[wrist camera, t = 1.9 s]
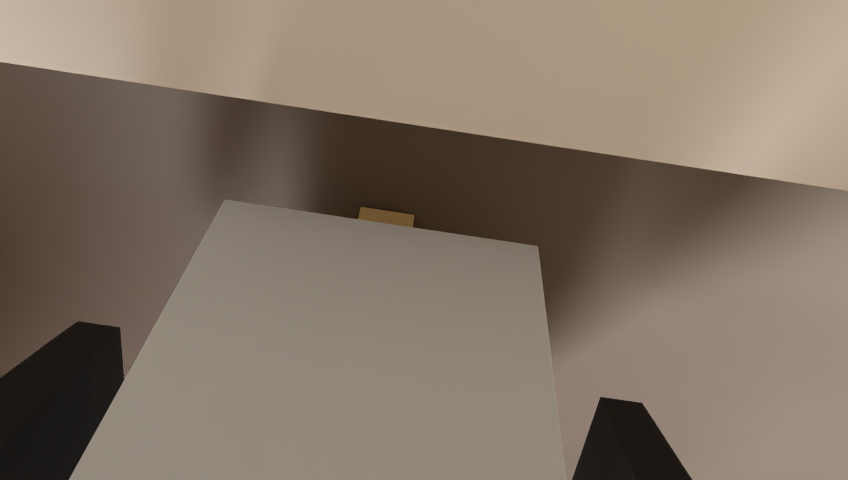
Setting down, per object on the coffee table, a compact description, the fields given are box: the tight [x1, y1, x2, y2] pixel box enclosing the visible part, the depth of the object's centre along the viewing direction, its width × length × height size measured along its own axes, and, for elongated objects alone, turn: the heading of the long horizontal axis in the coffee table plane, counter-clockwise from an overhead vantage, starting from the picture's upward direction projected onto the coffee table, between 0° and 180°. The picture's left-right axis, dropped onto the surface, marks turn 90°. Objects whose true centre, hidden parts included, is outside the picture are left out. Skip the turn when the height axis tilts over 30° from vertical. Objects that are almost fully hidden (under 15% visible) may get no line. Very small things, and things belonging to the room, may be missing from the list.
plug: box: [69, 199, 567, 480], centre depth 11 cm, size 6×4×7 cm
